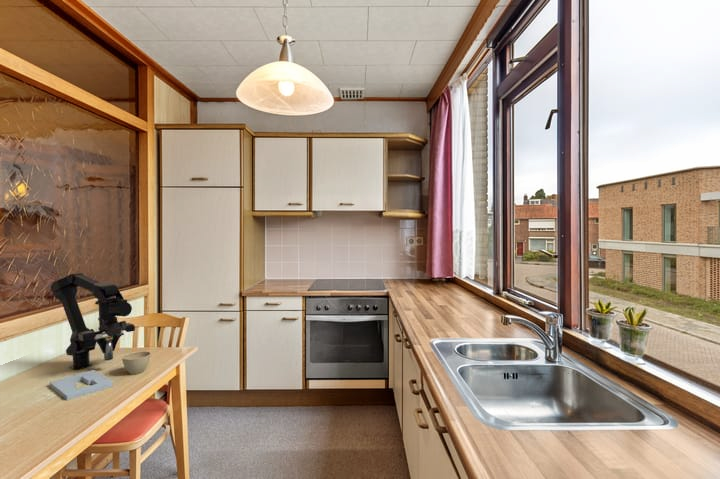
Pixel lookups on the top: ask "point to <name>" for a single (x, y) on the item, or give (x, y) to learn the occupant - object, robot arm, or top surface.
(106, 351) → the bolt
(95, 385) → the keyhole board
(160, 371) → the top surface
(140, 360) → the grey bowl
